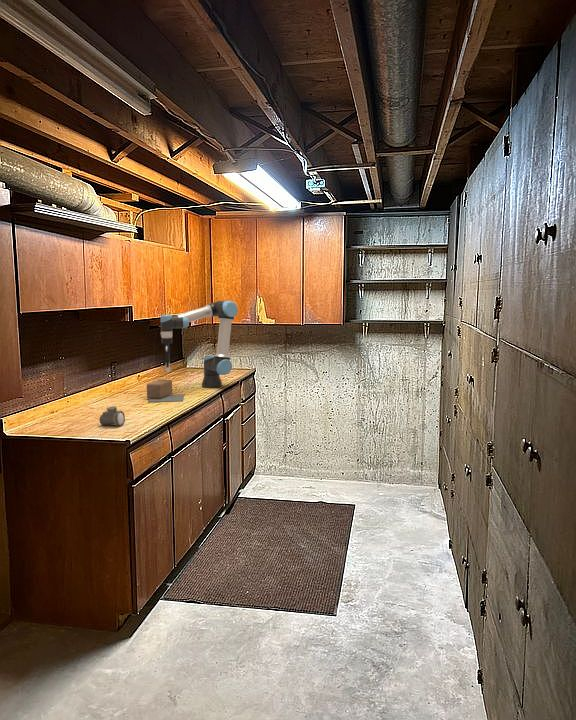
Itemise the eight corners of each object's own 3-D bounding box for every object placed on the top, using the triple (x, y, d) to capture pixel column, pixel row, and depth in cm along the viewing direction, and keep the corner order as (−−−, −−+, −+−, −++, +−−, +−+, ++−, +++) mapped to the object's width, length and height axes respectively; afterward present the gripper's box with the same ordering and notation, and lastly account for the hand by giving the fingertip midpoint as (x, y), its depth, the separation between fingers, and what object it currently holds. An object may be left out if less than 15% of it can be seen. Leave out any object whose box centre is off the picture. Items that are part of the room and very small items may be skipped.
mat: (184, 395, 379) (184, 394, 379) (182, 401, 357) (182, 400, 357) (151, 396, 376) (151, 395, 376) (147, 402, 354) (147, 401, 354)
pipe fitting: (127, 423, 294) (123, 404, 292) (119, 428, 286) (115, 409, 285) (107, 424, 297) (103, 406, 295) (99, 429, 289) (95, 410, 288)
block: (172, 394, 381) (160, 399, 362) (159, 393, 383) (146, 398, 364) (172, 379, 380) (160, 384, 360) (159, 379, 382) (145, 383, 362)
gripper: (162, 336, 381) (163, 370, 384) (160, 338, 369) (161, 373, 372) (173, 336, 383) (174, 370, 385) (171, 338, 370) (172, 373, 373)
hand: (167, 371), depth 378 cm, fingers closed
